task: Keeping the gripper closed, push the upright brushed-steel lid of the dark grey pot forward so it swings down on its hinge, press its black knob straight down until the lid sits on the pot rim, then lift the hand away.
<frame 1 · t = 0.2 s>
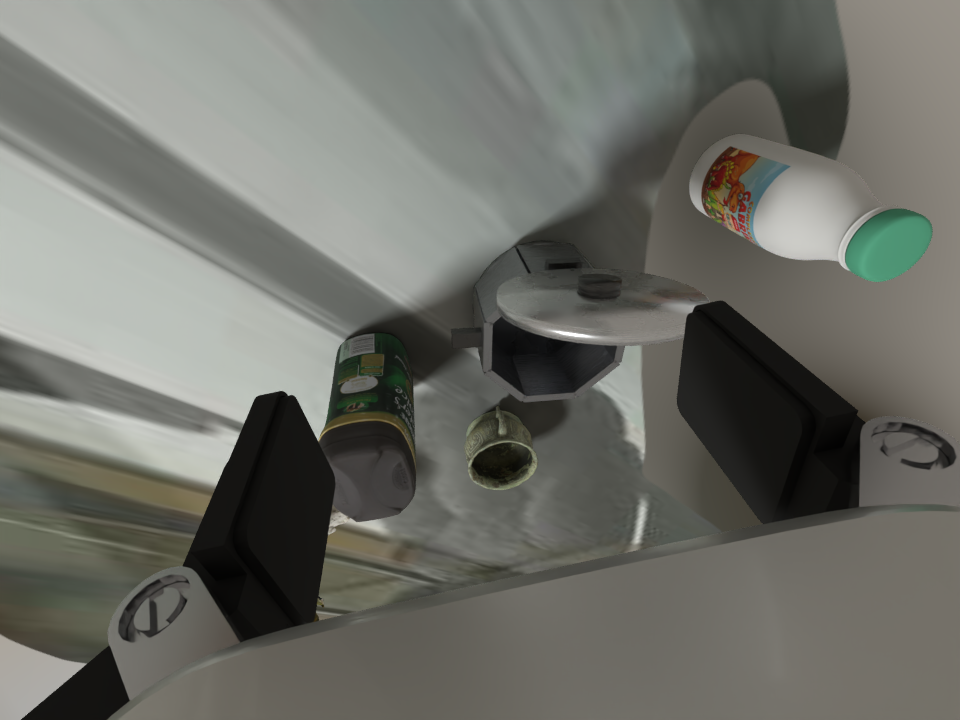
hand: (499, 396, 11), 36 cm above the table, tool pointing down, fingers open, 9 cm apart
coffee jar: (377, 363, 54), on the table
pot: (535, 302, 51), on the table
lid: (597, 291, 33), point 16 cm above the table, hinge at 100.0°
vessel: (494, 430, 62), on the table
white figurine: (307, 499, 65), on the table
milk bottle: (723, 174, 46), on the table
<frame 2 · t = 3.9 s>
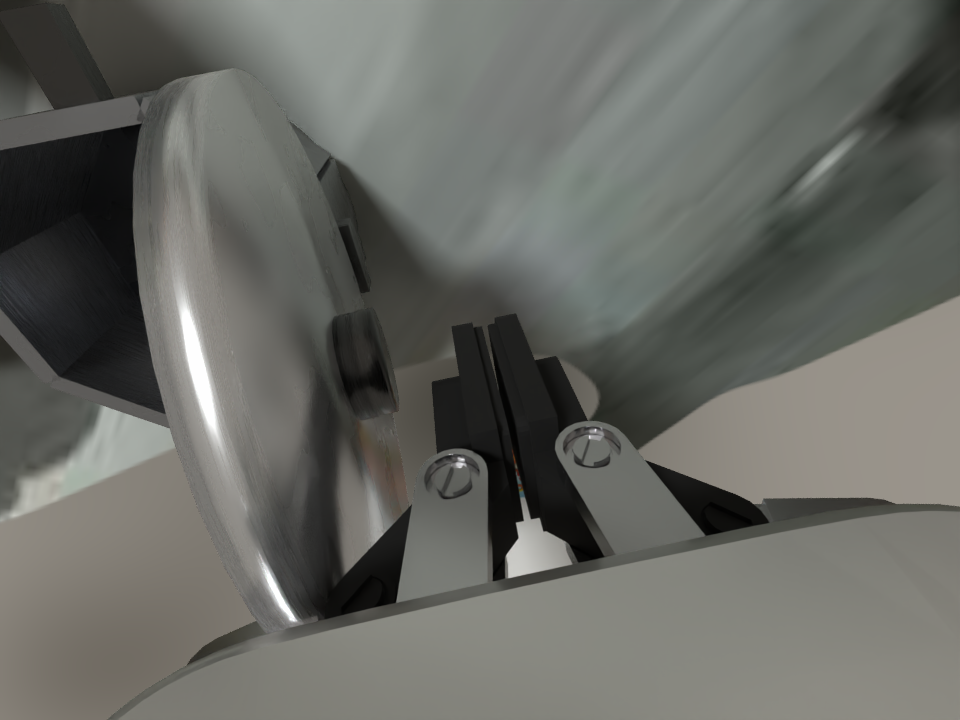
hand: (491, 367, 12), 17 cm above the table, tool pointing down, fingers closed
pot: (230, 229, 26), on the table
lid: (350, 363, 13), point 16 cm above the table, hinge at 95.1°, touching gripper
milk bottle: (497, 416, 37), on the table
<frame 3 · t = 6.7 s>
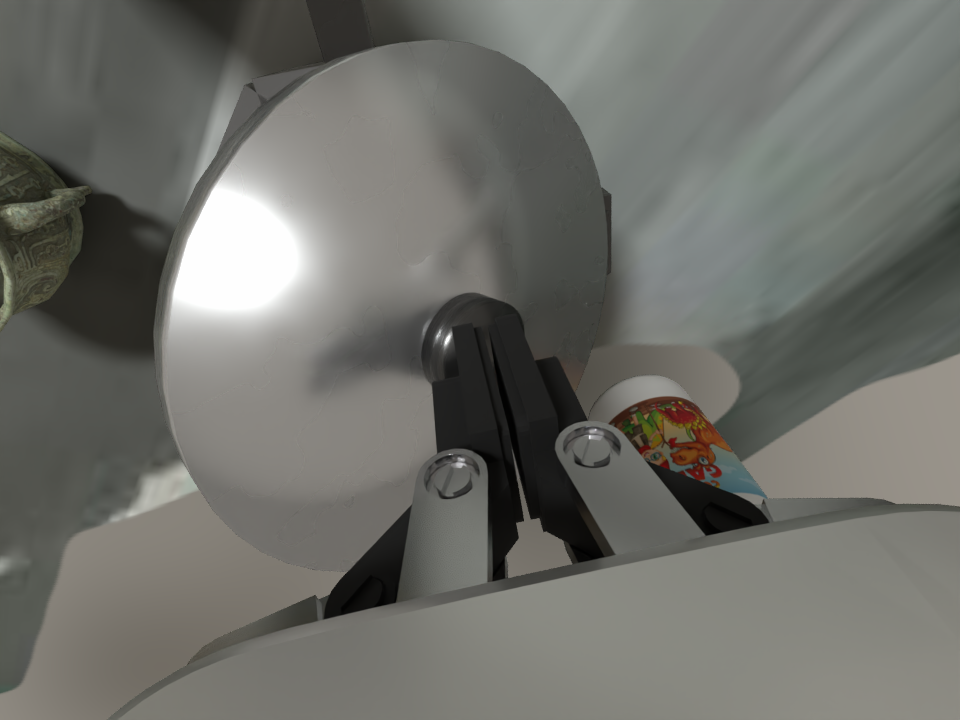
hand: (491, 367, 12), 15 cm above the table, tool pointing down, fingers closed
pot: (405, 209, 25), on the table
lid: (469, 339, 13), point 14 cm above the table, hinge at 37.1°, touching gripper
milk bottle: (633, 410, 35), on the table
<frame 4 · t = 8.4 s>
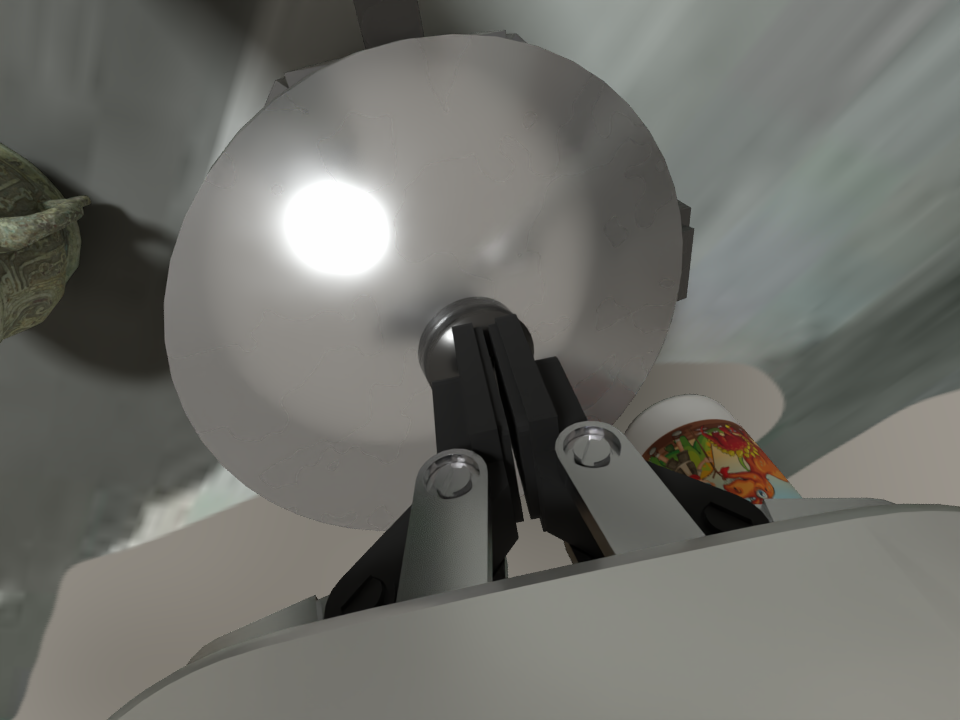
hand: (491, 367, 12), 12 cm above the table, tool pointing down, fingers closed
pot: (437, 220, 22), on the table
lid: (478, 343, 13), point 11 cm above the table, hinge at 14.4°, touching gripper
milk bottle: (670, 431, 33), on the table
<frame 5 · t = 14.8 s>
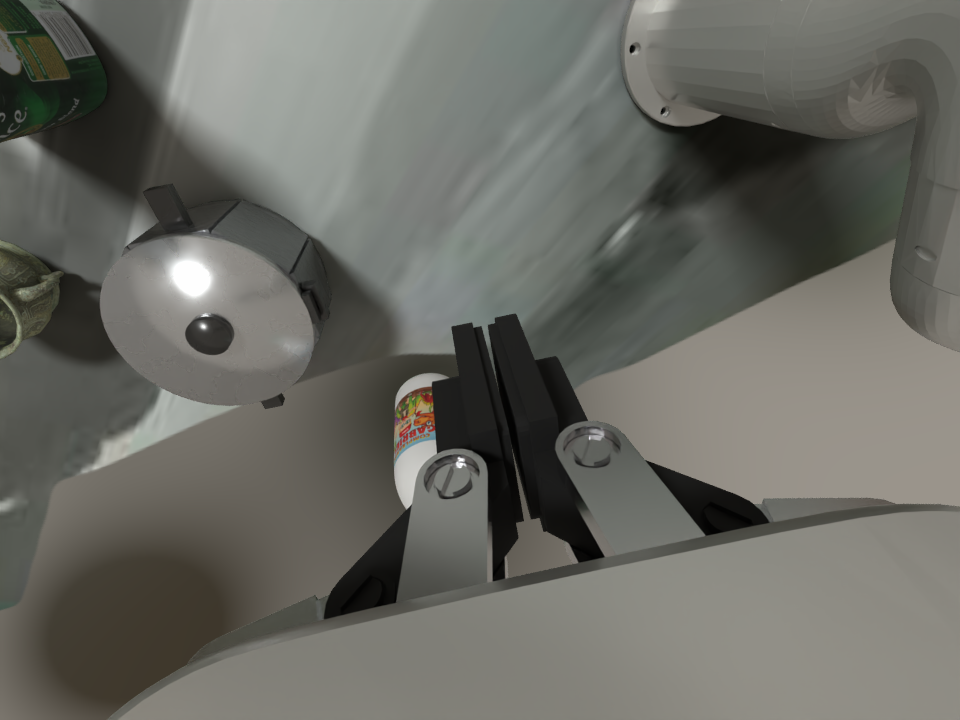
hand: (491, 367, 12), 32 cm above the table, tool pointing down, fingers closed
coffee jar: (34, 62, 32), on the table
pot: (247, 278, 43), on the table
lid: (215, 330, 35), point 9 cm above the table, hinge at 0.0°, touching pot
vessel: (10, 278, 40), on the table
milk bottle: (429, 396, 53), on the table
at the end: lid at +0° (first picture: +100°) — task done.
